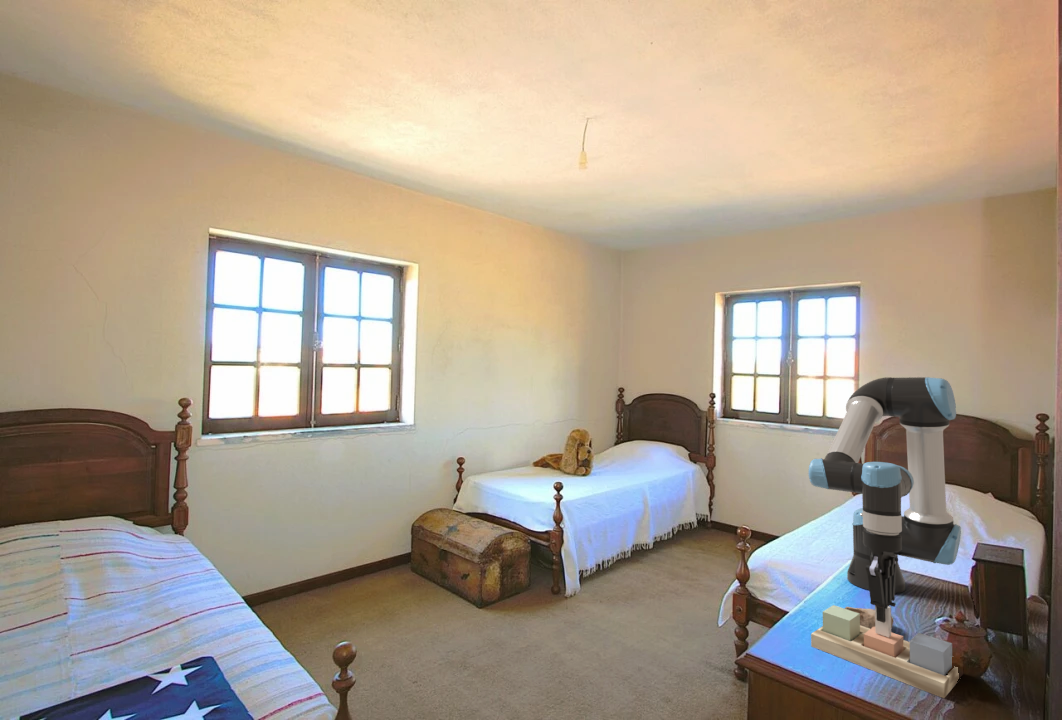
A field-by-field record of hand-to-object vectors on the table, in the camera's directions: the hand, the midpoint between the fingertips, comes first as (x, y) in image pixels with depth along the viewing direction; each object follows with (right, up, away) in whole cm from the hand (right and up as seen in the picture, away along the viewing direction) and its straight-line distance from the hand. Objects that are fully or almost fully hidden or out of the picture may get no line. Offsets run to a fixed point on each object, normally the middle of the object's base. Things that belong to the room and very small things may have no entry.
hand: (883, 634), depth 122 cm
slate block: (+6, -3, -7) cm, 10 cm away
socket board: (0, -6, 0) cm, 6 cm away
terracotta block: (0, -5, 0) cm, 5 cm away
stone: (+7, -7, +15) cm, 18 cm away
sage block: (-5, -3, +7) cm, 10 cm away
